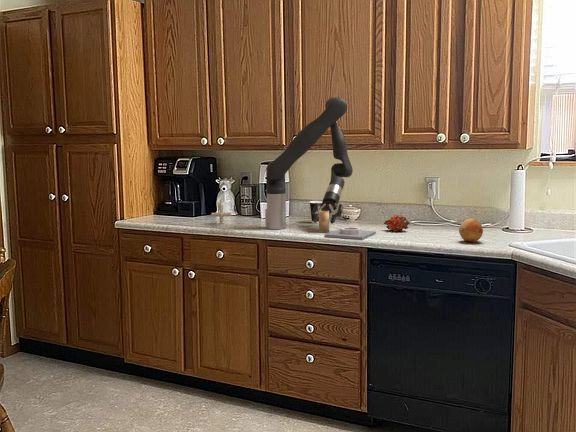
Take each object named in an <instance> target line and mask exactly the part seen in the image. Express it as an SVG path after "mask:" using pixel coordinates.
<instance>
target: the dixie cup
mask: <svg viewBox="0 0 576 432" xmlns="http://www.w3.org/2000/svg"><path fill="white" fill-rule="evenodd" d="M322 202H323V200H312V201H309V208H310V209H309V210H310V216H311V222H312V224H319V216H318V220H317V222H316V223H315V222H314V220H313V218H314V215H313V214H312V210H313V208H314V205H315V203H318V204H322ZM321 211H322V210H321Z"/></svg>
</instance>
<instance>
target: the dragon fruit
mask: <svg viewBox="0 0 576 432" xmlns="http://www.w3.org/2000/svg"><path fill="white" fill-rule="evenodd" d="M409 224H410V222H409V220H408V219H407V217H405V216H404V215H401V214H399V215H397V214H394V215H393V216H391V217H390V218H389V219H386V220H384V222H383V225H386V228H387V230H389V231H393V232H397V231H399V232H403V229H404V230H408V228H409V227H408V226H409Z"/></svg>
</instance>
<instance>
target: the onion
mask: <svg viewBox="0 0 576 432" xmlns="http://www.w3.org/2000/svg"><path fill="white" fill-rule="evenodd" d="M483 232H484V229H483V226H482V224H481V222H480V221H479V220H477V219H475V218H472V217H471V218H467V219H465V220H464V221H462V222H461V224H460V225H459V228H458V233H459V235H460V237H461V239H462V240H463V241H465V242H469V243H475V242H478V241H479V240H480V239H481V238H482V237H483V234H484V233H483Z"/></svg>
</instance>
